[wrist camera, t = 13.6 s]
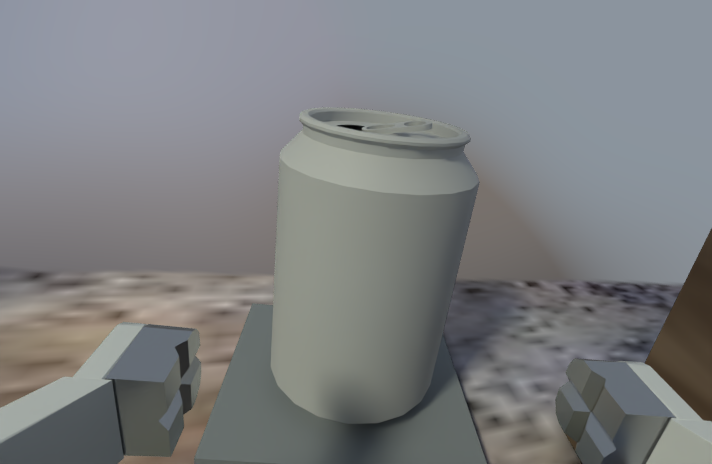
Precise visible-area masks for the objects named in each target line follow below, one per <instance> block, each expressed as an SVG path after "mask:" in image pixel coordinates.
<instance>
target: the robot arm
mask: <svg viewBox="0 0 712 464" xmlns="http://www.w3.org/2000/svg"><path fill="white" fill-rule="evenodd" d="M199 347H200V337H199V332H198V330H197V329H192V328H182V327H172V326H162V325H152V324H148V325H147V324H139V323H128V322H123V323H120V324H118V325H117V326H116V327H115V328H114V329H113V330H112V331H111V333H110V334H109V335H108V336H107V337H106V338H105V340H104V341H103V342H102V343H101V344H100V345H99V347H98V348H97V349H96V350H95V351H94V353H93V354H92V355H91V356H90V357H89V358H88V360H87V361H86V362H85V363H84V364H83V365H82V367H81V368H80V369H79V370H78V371H77V373H76V374H75V375H74V376H73V377H63V378H61V379H59V380H57V381H54V382H52V383H50V384H48V385H46V386H44V387H42V388H40V389H38V390H36V391H34V392H32V393H30V394H28V395H26V396H24V397H22V398H20V399H18V400H16V401H14V402H12V403H10V404H8V405H6V406H4V407H1V408H0V464H118V463H119V462H120V461H121V460H122V459H123V458H124V455H127V456H162V457H171V455H172V453H173V451H174V448H175V446H176V444H177V442H178V439H179V437H180V435H181V433H182V430H183V428H184V420H183V415H184V414H185V413H187V412H188V411H189V410H191V409H192V407H193V405H194V402H195V400H196V397H197V394H198V390H199V386H200V379H201V362H200V361H199V359H198V358H197V357H196V356H195V355H196V353H197V351H198V349H199ZM566 374H567V376H568V379H569V381H568V382H567V383H566V384H564V385H563V386H562V387H560V388H559V391H558V394H557V397H556V415H557V418H558V421H559V424H560V425H561V427H562V429H563V431H564V433H565V434H567V435H568V436H569V437H570V438H572V439H573V440H574V441H576V442H577V444H576V450H575V452H576V454H577V455H578V457H579V459H580V460H581V462H582V464H712V422H711V421H704V420H702V418H701V417H700V416H699V415H698V414H697V413H696V412H695V411H694V410H693V409H692V408H691V407H690V406H689V405H688V404H687V403H686V402H685V401H684V400H683V399H682V398H681V397H680V396H679V395H678V394H677V393H676V392H675V391H674V390H673V389H672V388H671V387H670V386H669V385H668V384H667V383H666V382H665V381H664V380H663V379H662V378H661V377H660V376H659V375H658V374H657V373H656V372H655V371H654V370H653V369H652V368H651V367H650V366H649V365H647V364H645V363H643V362H630V361H619V362H616V361H603V360H589V359H574V360H573V361H572V362H571V363H570V364H569V366H568V369H567V371H566Z"/></svg>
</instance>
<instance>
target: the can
mask: <svg viewBox="0 0 712 464" xmlns="http://www.w3.org/2000/svg"><path fill="white" fill-rule="evenodd" d="M300 122H301V123H302V124H303V130H301V131H300V132H299V133H298V135H296V136H295V137H294V138H293V139H292V140H291V141H290V142H289V143H288V144H287V145H286V146H285V147H284V148H283V149H282V150H281V153H280V162H279V183H278V206H277V207H278V208H277V229H276V231H277V232H276V252H275V275H274V298H273V321H272V345H271V369H272V372H273V375H274V377H275V380H276V383H277V385H278V386H279V388H280V389H281V390H282V391H283V392H284V393H285V394H286V395H287V396H288V397H289V398H290V399H291V400H292V401H293V403H295V404H296V405H298V406H300V407H302V408H304V409H305V410H307V411H309V412H311V413H313V414H314V415H316V416H318V417H322V418H326V419H330V420H334V421H338V422H342V423H346V424H366V423H380V422H383V421H386V420H390V419H393V418H396V417H399V416H402V415H404V414H405V413H407V412H408V411H409V410H411V409H412V408H413V407H415V406H416V405H417V404H419V403H420V402H421V401H422V399H423V397H424V395H425V394H426V392H427V390H428V388H429V386H430V384H431V380H432V375H433V371H434V367H435V363H436V359H437V355H438V351H439V347H440V343H441V338H442V334H443V330H444V326H445V322H446V318H447V314H448V310H449V305H450V301H451V297H452V293H453V289H454V285H455V281H456V277H457V273H458V268H459V264H460V260H461V256H462V252H463V248H464V243H465V239H466V235H467V231H468V227H469V223H470V219H471V215H472V211H473V207H474V202H475V199H476V194H477V190H478V186H479V180H478V176H477V174H476V172H475V171H474V169H473V167H472V165H471V164H470V162H469V160H468V159H467V157H466V156H465V154H464V152H463V151H464V147H465V145H466V144H467V143H469V142H470V140H471V138H470V136H469V134H468V133H467V131H465V130H463V129H461V128H459V127H456V126H453V125H450V124H446V123H443V122H439V121H435V120H431V119H427V118H422V117H416V116H410V115H405V114H398V113H392V112H384V111H376V110H365V109H354V108H313V109H308V110H305V111H302V112H301V113H300Z"/></svg>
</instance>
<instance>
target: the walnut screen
mask: <svg viewBox="0 0 712 464" xmlns="http://www.w3.org/2000/svg"><path fill="white" fill-rule="evenodd" d="M645 364H647V365H649V366H650V367H651V368H652V369H653V370H654V371H655V372H656V373H657V374H658V375H659V376H660V377H661V378H662V379H663V380H664V381H665V382H666V383H667V384H668V385H669V386H670V387H671V388H672V389H673V390H674V391H675V392H676V393H677V394H678V395H679V396H680V397H681V398H682V399H683V400H684V401H685V402H686V403H687V404H688V405H689V406H690V407H691V408H692V409H693V410H694V411H695V412H696V413H697V414H698V415H699V416H700V417H701V418H702V420H704V421H711V422H712V229H711V231H710V233H709V235H708V237H707V239H706V241H705V243H704V245H703V247H702V249H701V251H700V253H699V255H698V257H697V259H696V261H695V263H694V265H693V267H692V269H691V271H690V273H689V275H688V277H687V279H686V281H685V283H684V285H683V287H682V289H681V291H680V293H679V295H678V297H677V299H676V301H675V303H674V305H673V307H672V309H671V311H670V313H669V315H668V317H667V319H666V321H665V323H664V325H663V327H662V329H661V331H660V333H659V335H658V337H657V339H656V341H655V343H654V345H653V347H652V349H651V351H650V353H649V355H648V357H647V359H646V361H645ZM566 436H567V437H568V439H569V441H570V443H571V444H572V446H573V448H574V450H576V444H577V442H576V441H574V440H573V439H572V438H570V437H569V436H568V435H567V434H566Z"/></svg>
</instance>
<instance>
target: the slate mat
mask: <svg viewBox="0 0 712 464" xmlns="http://www.w3.org/2000/svg"><path fill="white" fill-rule="evenodd" d="M272 321H273V305H264V304H252V306H251V309H250V312H249V314H248V317H247V320H246V322H245V325H244V328H243V330H242V333H241V336H240V338H239V341H238V344H237V346H236V349H235V352H234V354H233V357H232V359H231V362H230V365H229V367H228V370H227V373H226V375H225V378H224V381H223V383H222V386H221V389H220V391H219V394H218V397H217V399H216V402H215V405H214V407H213V410H212V413H211V415H210V418H209V420H208V423H207V426H206V428H205V431H204V434H203V436H202V439H201V442H200V444H199V447H198V450H197V452H196V455H195V458H194V464H487V462H486V459H485V456H484V453H483V450H482V447H481V445H480V442H479V439H478V436H477V433H476V430H475V427H474V424H473V421H472V418H471V415H470V412H469V409H468V406H467V403H466V401H465V398H464V395H463V392H462V389H461V386H460V383H459V380H458V377H457V374H456V371H455V368H454V365H453V362H452V359H451V357H450V354H449V351H448V348H447V345H446V342H445V339H444V336H443V334H442V338H441V343H440V347H439V351H438V355H437V359H436V363H435V367H434V371H433V375H432V380H431V384H430V386H429V388H428V390H427V392H426V394H425V395H424V397H423V399H422V401H421V402H420V403H419V404H417V405H416V406H415V407H413V408H412V409H411V410H409V411H408V412H407V413H405V414H404V415H402V416H399V417H396V418H393V419H390V420H386V421H383V422H380V423H366V424H346V423H342V422H338V421H334V420H330V419H326V418H322V417H318V416H316V415H314V414H313V413H311V412H309V411H307V410H305V409H304V408H302V407H300V406H298V405H296V404H295V403H293V401H292V400H291V399H290V398H289V397H288V396H287V395H286V394H285V393H284V392H283V391H282V390H281V389H280V388H279V386H278V385H277V383H276V380H275V377H274V375H273V372H272V369H271V345H272Z"/></svg>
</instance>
